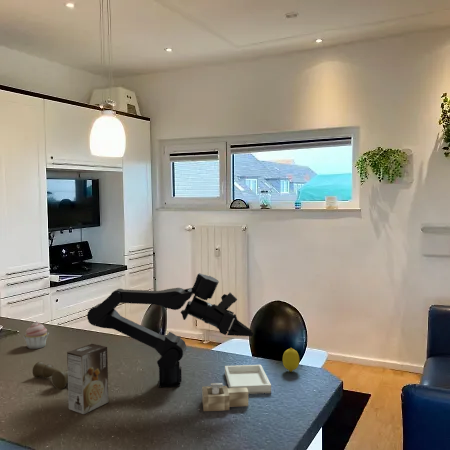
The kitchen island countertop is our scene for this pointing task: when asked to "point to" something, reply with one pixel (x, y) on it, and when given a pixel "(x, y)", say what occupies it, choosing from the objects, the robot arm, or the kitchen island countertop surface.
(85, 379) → the food box
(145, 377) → the kitchen island countertop surface
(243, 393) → the birch collar
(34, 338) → the cupcake
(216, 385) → the t stake
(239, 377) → the tray
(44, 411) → the kitchen island countertop surface
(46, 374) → the olive brown dumbbell-shaped piece
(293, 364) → the lemon
